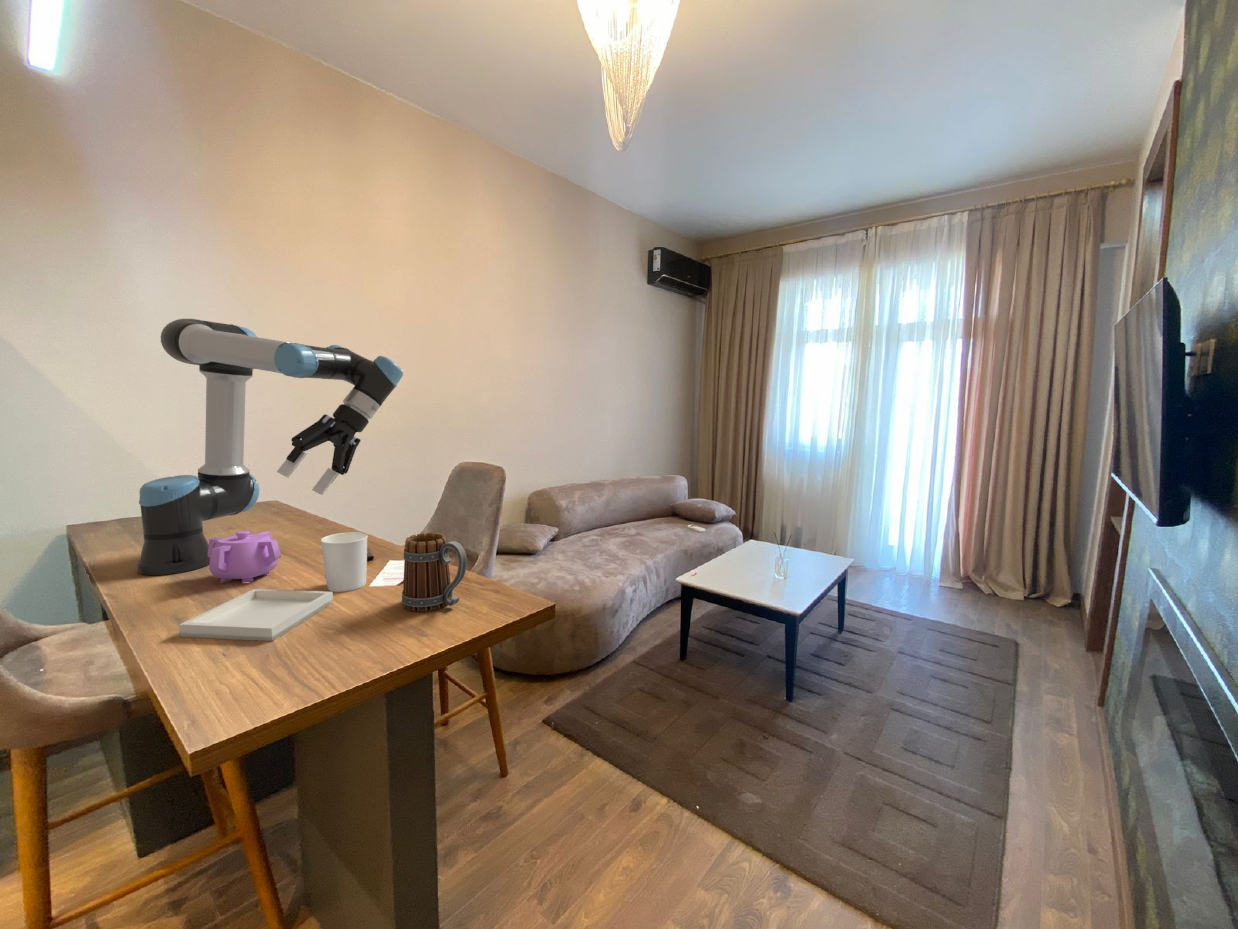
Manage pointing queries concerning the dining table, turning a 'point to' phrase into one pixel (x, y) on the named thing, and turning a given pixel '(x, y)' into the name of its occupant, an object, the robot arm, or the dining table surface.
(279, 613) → the tray
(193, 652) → the dining table surface
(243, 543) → the pot
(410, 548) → the mug
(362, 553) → the white tapered cylinder
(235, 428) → the robot arm
